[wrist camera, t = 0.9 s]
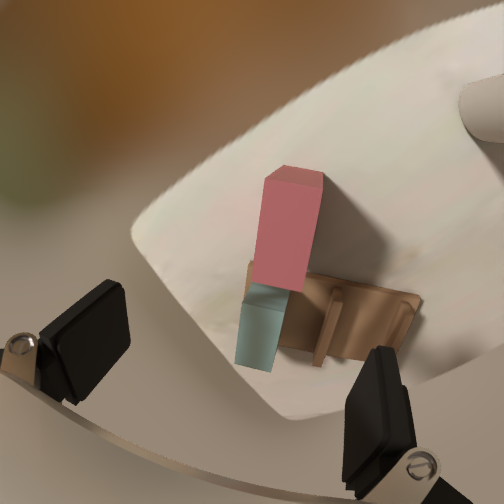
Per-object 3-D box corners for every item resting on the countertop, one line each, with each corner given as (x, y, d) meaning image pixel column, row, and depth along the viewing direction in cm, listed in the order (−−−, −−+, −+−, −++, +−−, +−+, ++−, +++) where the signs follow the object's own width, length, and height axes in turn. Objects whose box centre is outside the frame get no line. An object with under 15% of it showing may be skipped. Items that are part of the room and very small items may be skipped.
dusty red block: (322, 172, 28) (323, 189, 19) (308, 246, 32) (301, 292, 23) (283, 165, 29) (264, 178, 20) (272, 238, 32) (250, 281, 23)
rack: (418, 294, 30) (435, 331, 24) (389, 359, 34) (396, 398, 28) (250, 260, 34) (232, 291, 27) (241, 330, 38) (224, 367, 31)
